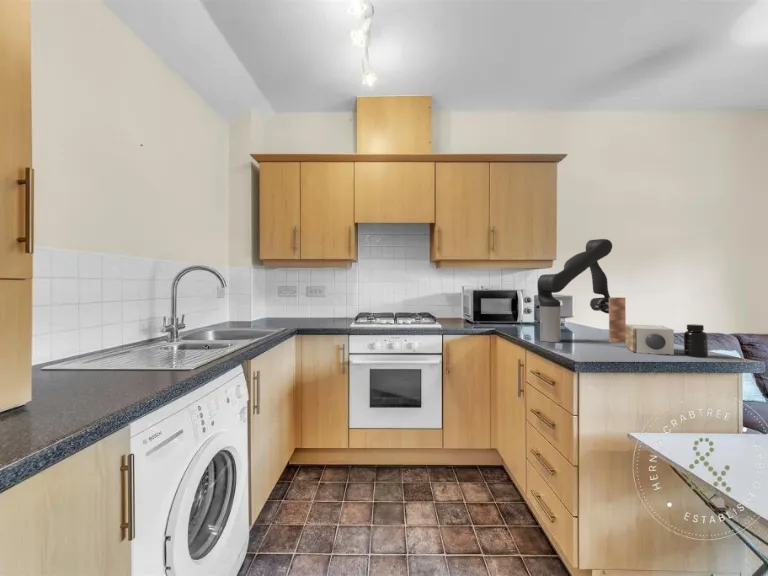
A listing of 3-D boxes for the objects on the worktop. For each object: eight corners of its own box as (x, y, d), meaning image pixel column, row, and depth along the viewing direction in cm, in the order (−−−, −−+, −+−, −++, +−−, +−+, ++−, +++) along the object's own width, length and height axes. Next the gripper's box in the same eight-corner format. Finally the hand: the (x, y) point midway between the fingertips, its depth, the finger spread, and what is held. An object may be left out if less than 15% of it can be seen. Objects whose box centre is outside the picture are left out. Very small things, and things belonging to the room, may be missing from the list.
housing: (637, 353, 137) (637, 328, 137) (628, 347, 152) (628, 324, 151) (675, 355, 132) (675, 330, 132) (662, 348, 147) (661, 325, 146)
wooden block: (615, 350, 142) (615, 298, 142) (609, 345, 154) (608, 297, 154) (635, 351, 139) (635, 298, 139) (627, 346, 152) (627, 297, 152)
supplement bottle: (698, 354, 135) (697, 323, 135) (713, 357, 128) (712, 325, 128) (679, 354, 136) (679, 323, 136) (693, 357, 129) (692, 325, 129)
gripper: (591, 298, 178) (597, 299, 162) (622, 298, 173) (630, 299, 157) (591, 312, 178) (597, 315, 162) (622, 313, 173) (630, 316, 157)
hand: (613, 307), depth 160 cm, fingers closed
